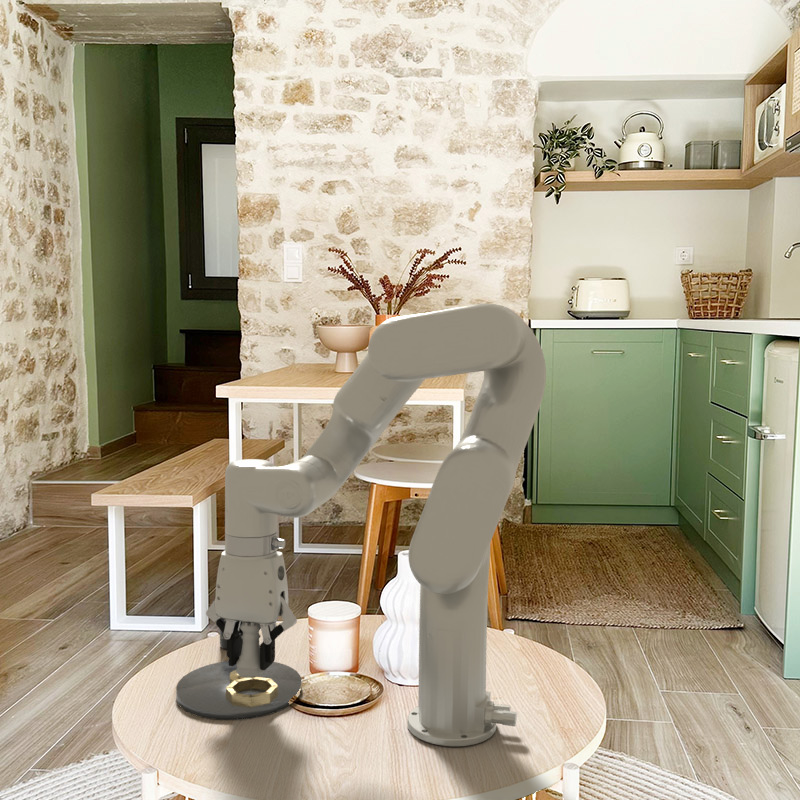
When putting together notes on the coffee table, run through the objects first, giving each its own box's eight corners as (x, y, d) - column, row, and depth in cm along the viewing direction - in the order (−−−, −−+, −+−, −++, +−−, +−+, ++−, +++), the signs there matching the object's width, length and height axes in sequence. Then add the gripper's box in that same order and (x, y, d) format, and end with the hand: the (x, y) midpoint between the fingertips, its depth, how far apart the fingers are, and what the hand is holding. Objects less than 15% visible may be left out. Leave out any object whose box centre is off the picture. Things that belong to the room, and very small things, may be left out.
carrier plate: (319, 675, 140) (319, 657, 140) (270, 727, 122) (270, 706, 122) (213, 662, 145) (213, 645, 145) (152, 710, 127) (151, 690, 127)
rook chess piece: (250, 681, 125) (250, 627, 125) (229, 673, 128) (229, 620, 127) (272, 671, 129) (272, 619, 128) (251, 664, 131) (251, 613, 131)
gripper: (314, 542, 128) (313, 662, 130) (211, 533, 133) (211, 649, 134) (294, 555, 121) (293, 681, 122) (186, 545, 125) (187, 667, 127)
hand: (250, 663), depth 128 cm, fingers closed on rook chess piece, 4 cm apart
